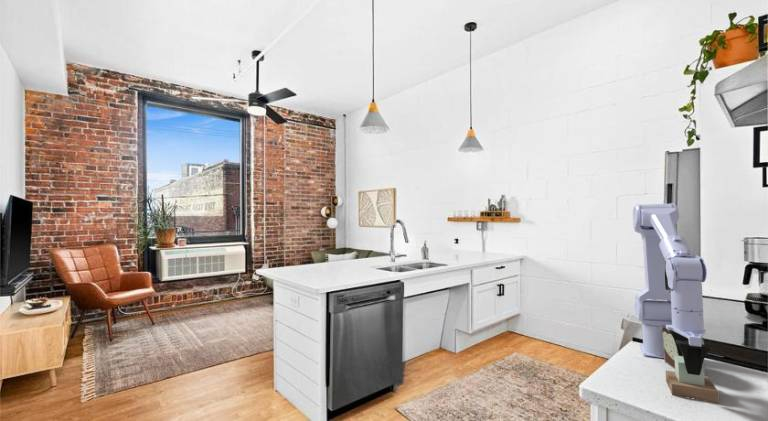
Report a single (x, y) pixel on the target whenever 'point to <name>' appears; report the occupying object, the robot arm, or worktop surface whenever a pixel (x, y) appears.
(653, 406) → the worktop surface
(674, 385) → the walnut block
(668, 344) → the food container
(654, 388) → the worktop surface
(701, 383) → the sage cube
